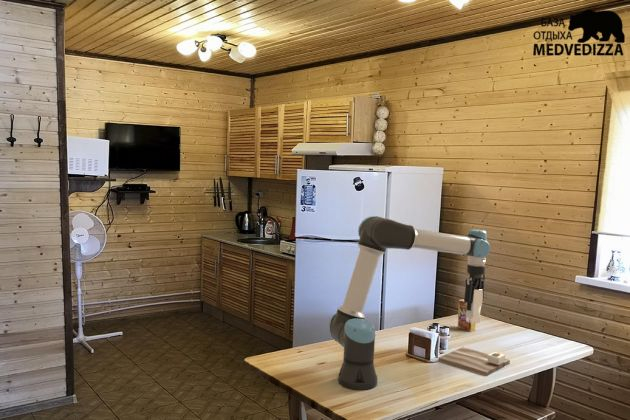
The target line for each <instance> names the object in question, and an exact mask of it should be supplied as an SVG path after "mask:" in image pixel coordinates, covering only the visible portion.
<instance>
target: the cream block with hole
mask: <svg viewBox="0 0 630 420" xmlns="http://www.w3.org/2000/svg"><path fill="white" fill-rule="evenodd" d="M488 354H489V355H488V361H487V362H490V363H493V364H497V365H500V364H501V363H503V362H505V359H506V354H503V353H500V352H495V351H494V352H491V353H488Z"/></svg>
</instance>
